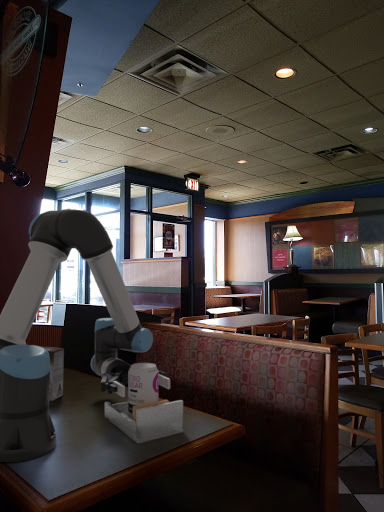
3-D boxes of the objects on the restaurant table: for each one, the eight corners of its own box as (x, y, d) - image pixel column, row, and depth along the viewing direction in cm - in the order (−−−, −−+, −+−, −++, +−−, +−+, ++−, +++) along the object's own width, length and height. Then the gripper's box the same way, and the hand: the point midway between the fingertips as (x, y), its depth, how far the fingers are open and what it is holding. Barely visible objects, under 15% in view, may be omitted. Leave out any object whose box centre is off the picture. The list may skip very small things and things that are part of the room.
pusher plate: (132, 428, 103) (132, 406, 103) (166, 420, 108) (166, 399, 109) (134, 430, 102) (134, 407, 102) (168, 422, 107) (168, 400, 108)
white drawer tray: (104, 416, 115) (104, 388, 116) (145, 407, 122) (145, 381, 123) (137, 443, 97) (137, 410, 97) (182, 431, 104) (183, 400, 104)
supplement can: (160, 416, 113) (160, 362, 113) (154, 427, 105) (155, 369, 105) (132, 415, 114) (132, 361, 114) (124, 426, 105) (125, 368, 106)
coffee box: (28, 398, 131) (29, 349, 132) (40, 393, 137) (41, 346, 138) (52, 401, 129) (53, 351, 130) (64, 395, 135) (64, 347, 136)
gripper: (152, 377, 132) (186, 394, 115) (77, 389, 119) (102, 410, 101) (152, 355, 133) (186, 368, 115) (77, 364, 119) (103, 380, 101)
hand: (147, 387), depth 108 cm, fingers open, 13 cm apart
